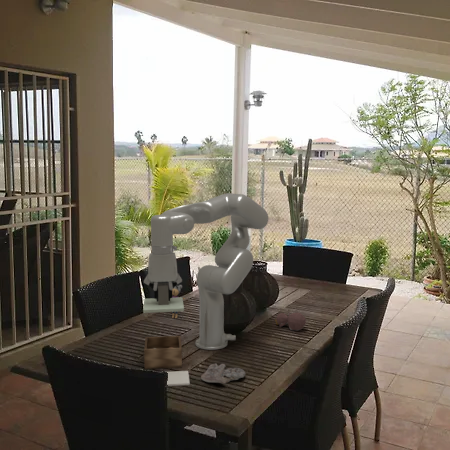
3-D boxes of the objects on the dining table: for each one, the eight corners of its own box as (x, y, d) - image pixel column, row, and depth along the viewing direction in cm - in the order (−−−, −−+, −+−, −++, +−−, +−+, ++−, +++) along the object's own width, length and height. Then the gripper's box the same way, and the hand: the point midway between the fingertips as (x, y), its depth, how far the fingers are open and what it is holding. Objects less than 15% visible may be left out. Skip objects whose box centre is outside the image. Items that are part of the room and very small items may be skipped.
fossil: (243, 370, 188) (200, 374, 187) (242, 360, 188) (200, 364, 187) (248, 385, 171) (201, 390, 170) (247, 374, 170) (200, 379, 170)
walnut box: (180, 353, 199) (180, 335, 198) (181, 367, 187) (181, 348, 186) (145, 355, 198) (145, 337, 197) (144, 369, 185) (144, 349, 184)
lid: (182, 299, 197) (182, 278, 196) (184, 311, 184) (183, 288, 183) (144, 301, 196) (143, 280, 195) (143, 312, 182) (142, 290, 181)
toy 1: (163, 317, 243) (162, 285, 241) (168, 314, 249) (168, 282, 247) (183, 320, 240) (183, 287, 238) (188, 316, 245) (188, 285, 243)
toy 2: (277, 332, 234) (304, 336, 223) (269, 319, 231) (297, 322, 220) (285, 319, 239) (313, 322, 228) (278, 306, 235) (306, 308, 225)
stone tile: (188, 372, 182) (188, 370, 182) (189, 384, 173) (189, 383, 172) (158, 373, 181) (158, 372, 181) (158, 386, 171) (158, 384, 171)
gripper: (185, 247, 191) (186, 296, 194) (138, 248, 190) (140, 298, 192) (186, 251, 184) (187, 302, 187) (137, 252, 182) (139, 304, 185)
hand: (163, 299), depth 189 cm, fingers closed on lid, 3 cm apart
